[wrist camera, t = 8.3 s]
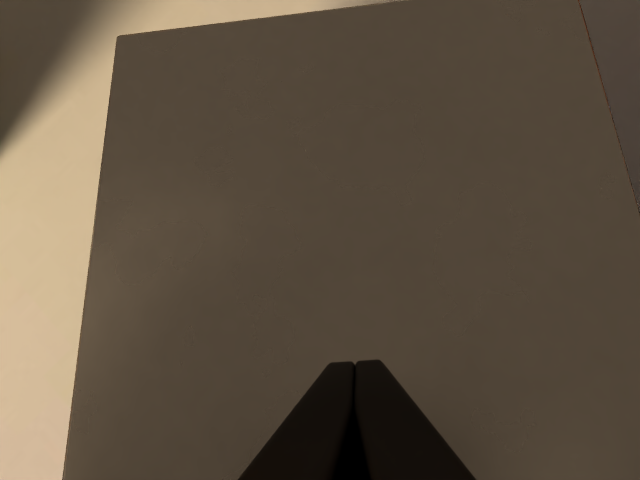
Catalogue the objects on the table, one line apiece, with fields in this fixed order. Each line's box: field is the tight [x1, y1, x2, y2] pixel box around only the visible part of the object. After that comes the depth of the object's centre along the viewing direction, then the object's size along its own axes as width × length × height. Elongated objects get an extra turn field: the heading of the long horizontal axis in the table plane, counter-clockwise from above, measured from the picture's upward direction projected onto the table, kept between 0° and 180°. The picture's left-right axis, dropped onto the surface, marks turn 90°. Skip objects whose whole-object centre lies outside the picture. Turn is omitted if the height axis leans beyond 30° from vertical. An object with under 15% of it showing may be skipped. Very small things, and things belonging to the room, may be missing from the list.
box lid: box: [62, 0, 640, 480], centre depth 12 cm, size 13×12×1 cm
